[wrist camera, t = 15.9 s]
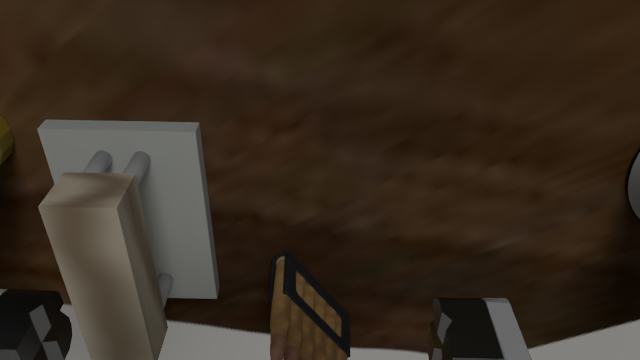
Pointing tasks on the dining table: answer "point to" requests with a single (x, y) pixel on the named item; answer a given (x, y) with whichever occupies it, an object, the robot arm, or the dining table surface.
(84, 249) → the tan bar
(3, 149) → the book
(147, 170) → the peg stand
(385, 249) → the dining table surface
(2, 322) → the robot arm
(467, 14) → the dining table surface
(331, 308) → the ammunition clip
